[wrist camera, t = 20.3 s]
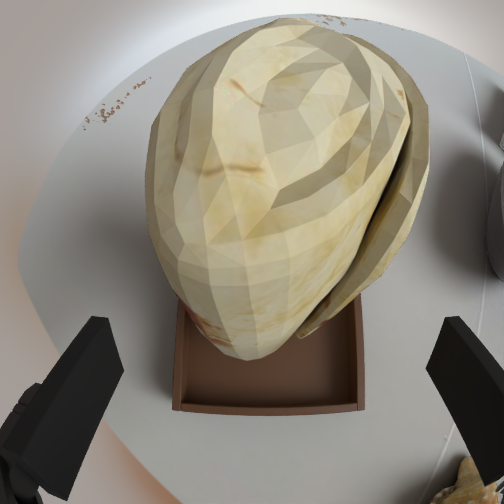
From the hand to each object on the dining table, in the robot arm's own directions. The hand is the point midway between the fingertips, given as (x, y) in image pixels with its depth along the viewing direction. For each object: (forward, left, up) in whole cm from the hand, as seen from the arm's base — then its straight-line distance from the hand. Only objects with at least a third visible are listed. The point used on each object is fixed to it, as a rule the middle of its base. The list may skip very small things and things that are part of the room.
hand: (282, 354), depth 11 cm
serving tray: (0, +5, -12) cm, 13 cm away
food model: (0, +4, -12) cm, 13 cm away
